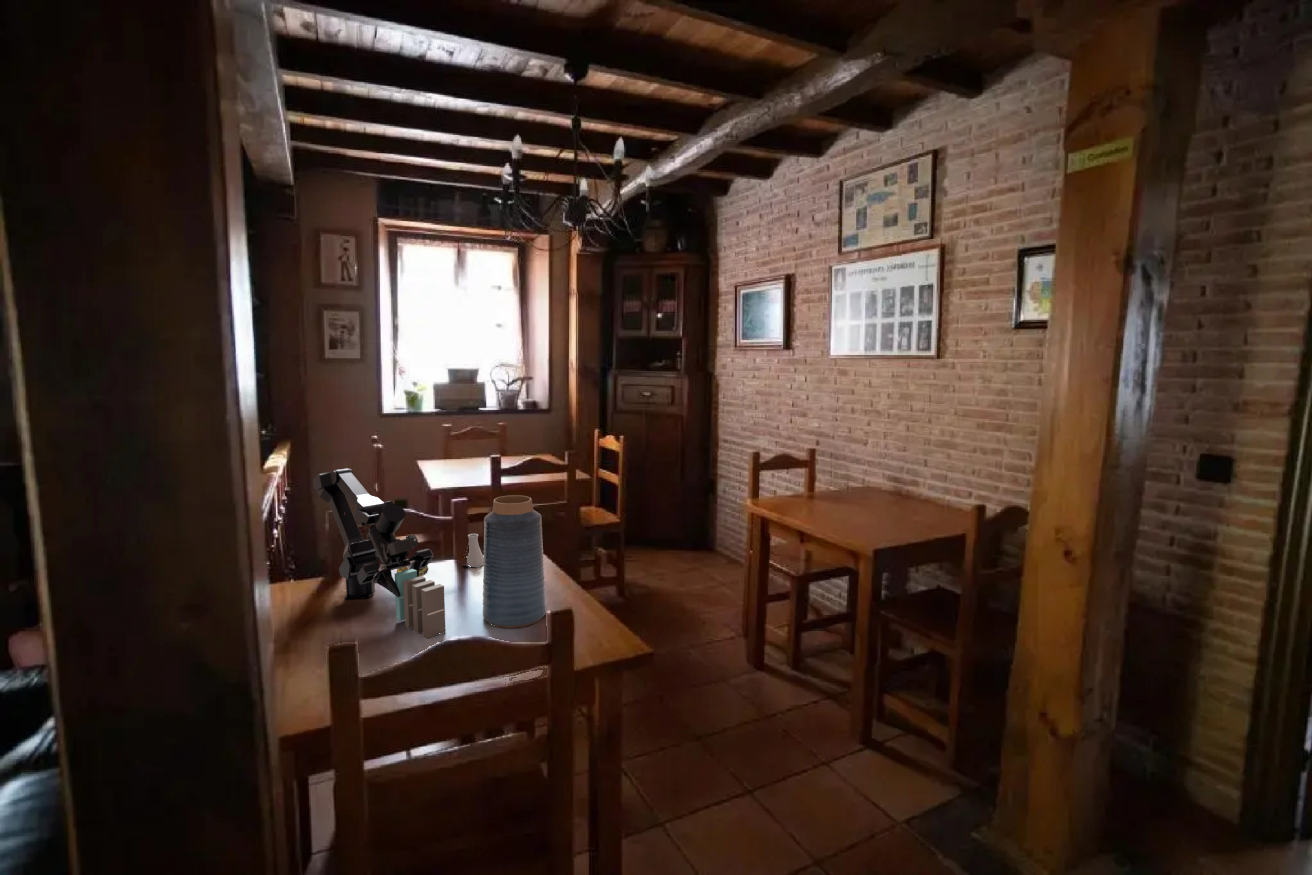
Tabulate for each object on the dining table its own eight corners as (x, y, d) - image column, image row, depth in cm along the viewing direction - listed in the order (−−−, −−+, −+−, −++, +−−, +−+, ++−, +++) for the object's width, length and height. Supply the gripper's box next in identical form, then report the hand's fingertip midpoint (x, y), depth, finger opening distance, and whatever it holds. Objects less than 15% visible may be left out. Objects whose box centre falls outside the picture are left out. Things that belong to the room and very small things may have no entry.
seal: (396, 569, 211) (397, 584, 197) (394, 555, 210) (395, 569, 197) (427, 563, 215) (430, 577, 201) (424, 549, 214) (427, 563, 200)
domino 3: (422, 636, 160) (420, 589, 158) (441, 629, 164) (439, 583, 162) (427, 638, 159) (425, 591, 157) (445, 632, 162) (444, 585, 161)
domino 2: (413, 631, 163) (411, 585, 161) (431, 625, 166) (430, 579, 165) (418, 633, 161) (416, 587, 160) (436, 627, 165) (434, 581, 164)
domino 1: (404, 626, 165) (402, 581, 164) (423, 620, 169) (421, 575, 168) (409, 628, 164) (407, 583, 162) (427, 622, 168) (425, 577, 166)
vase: (479, 608, 177) (476, 494, 173) (539, 601, 183) (538, 490, 179) (486, 633, 162) (483, 509, 158) (551, 624, 168) (550, 504, 164)
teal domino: (396, 618, 168) (394, 573, 166) (414, 612, 172) (412, 568, 170) (400, 620, 167) (398, 575, 165) (418, 614, 170) (416, 570, 169)
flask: (489, 562, 215) (489, 533, 214) (476, 569, 208) (476, 539, 207) (471, 560, 217) (470, 530, 216) (457, 566, 211) (456, 536, 209)
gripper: (360, 533, 161) (384, 587, 156) (428, 519, 176) (453, 568, 170) (347, 557, 168) (369, 610, 162) (414, 541, 182) (437, 589, 176)
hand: (409, 593), depth 167 cm, fingers closed on teal domino, 5 cm apart
